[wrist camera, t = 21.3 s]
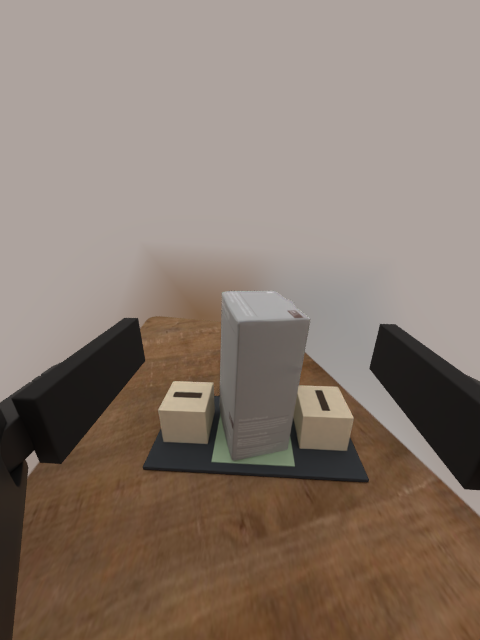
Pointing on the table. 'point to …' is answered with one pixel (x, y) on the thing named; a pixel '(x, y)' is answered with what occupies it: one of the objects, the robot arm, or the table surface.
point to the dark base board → (296, 462)
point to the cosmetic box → (259, 370)
